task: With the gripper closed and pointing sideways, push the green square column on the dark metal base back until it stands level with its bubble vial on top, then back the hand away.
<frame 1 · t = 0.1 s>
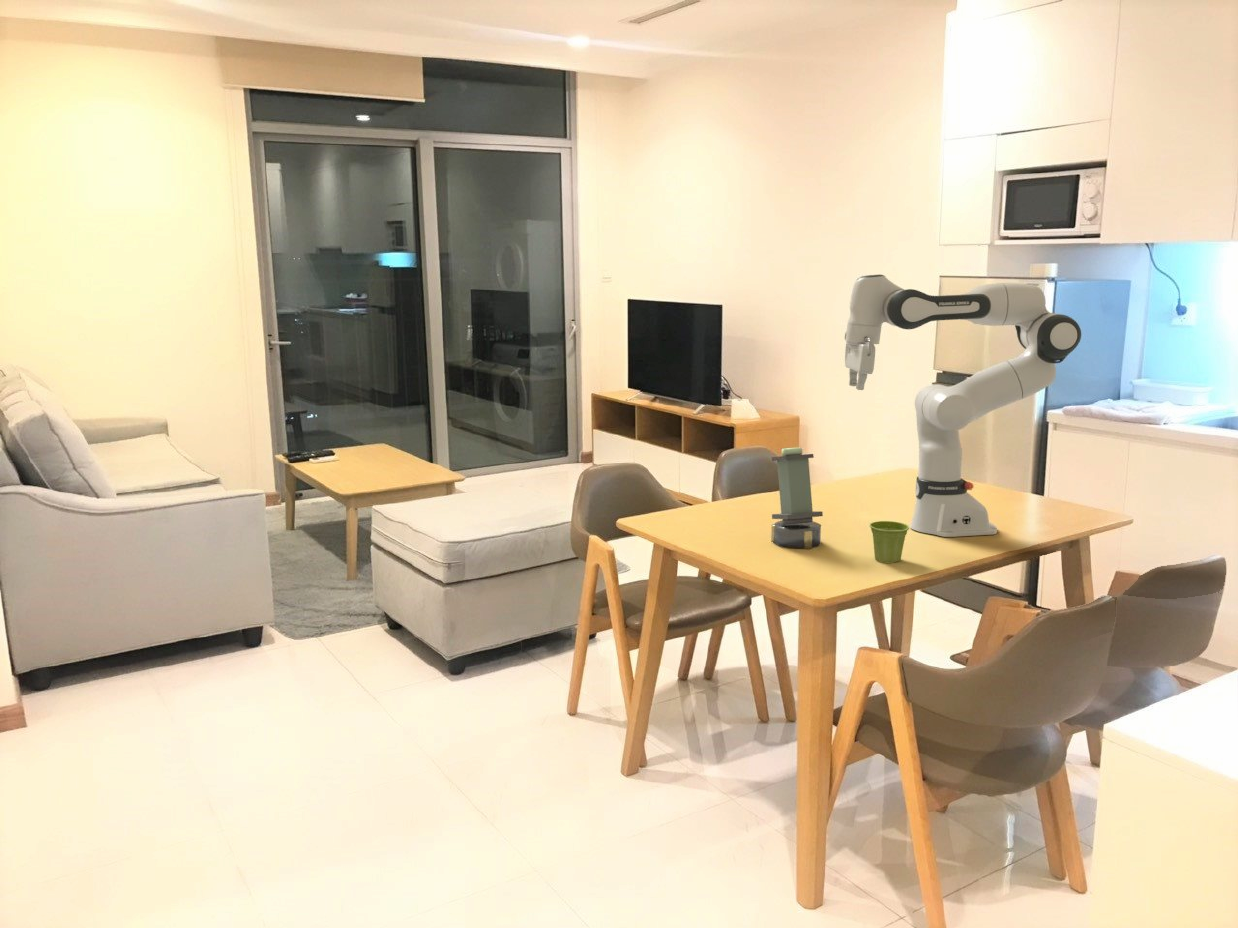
hand: (856, 387, 265), 39 cm above the table, tool pointing down, fingers open, 8 cm apart
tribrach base: (797, 542, 260), on the table
green square column: (794, 485, 259), point 15 cm above the table, hinge at 12.0°
plant pot: (888, 560, 243), on the table
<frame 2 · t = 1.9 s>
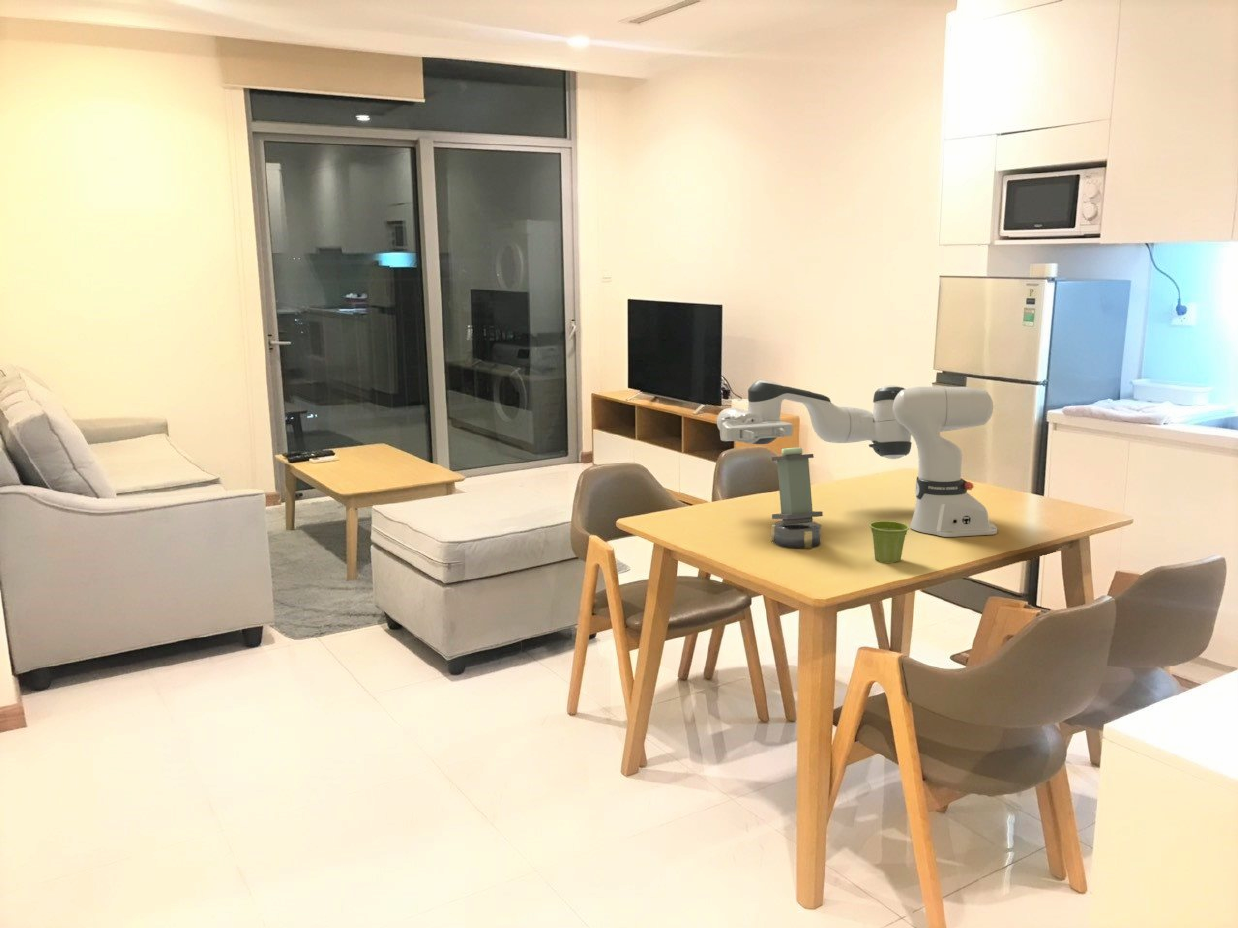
hand: (769, 434, 271), 26 cm above the table, tool horizontal, fingers open, 7 cm apart
nothing on the table moved.
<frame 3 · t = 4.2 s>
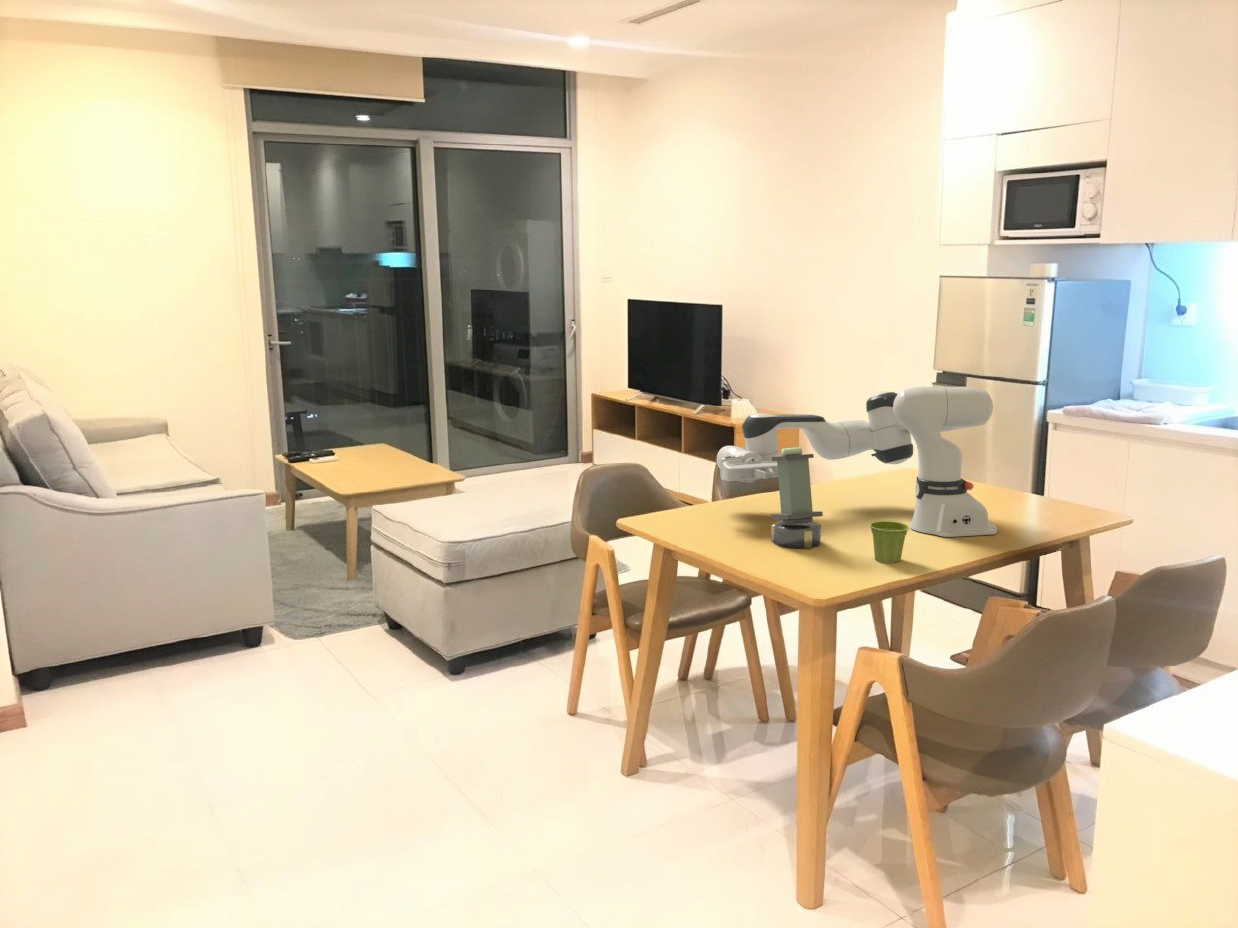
hand: (769, 475, 272), 15 cm above the table, tool horizontal, fingers closed
nothing on the table moved.
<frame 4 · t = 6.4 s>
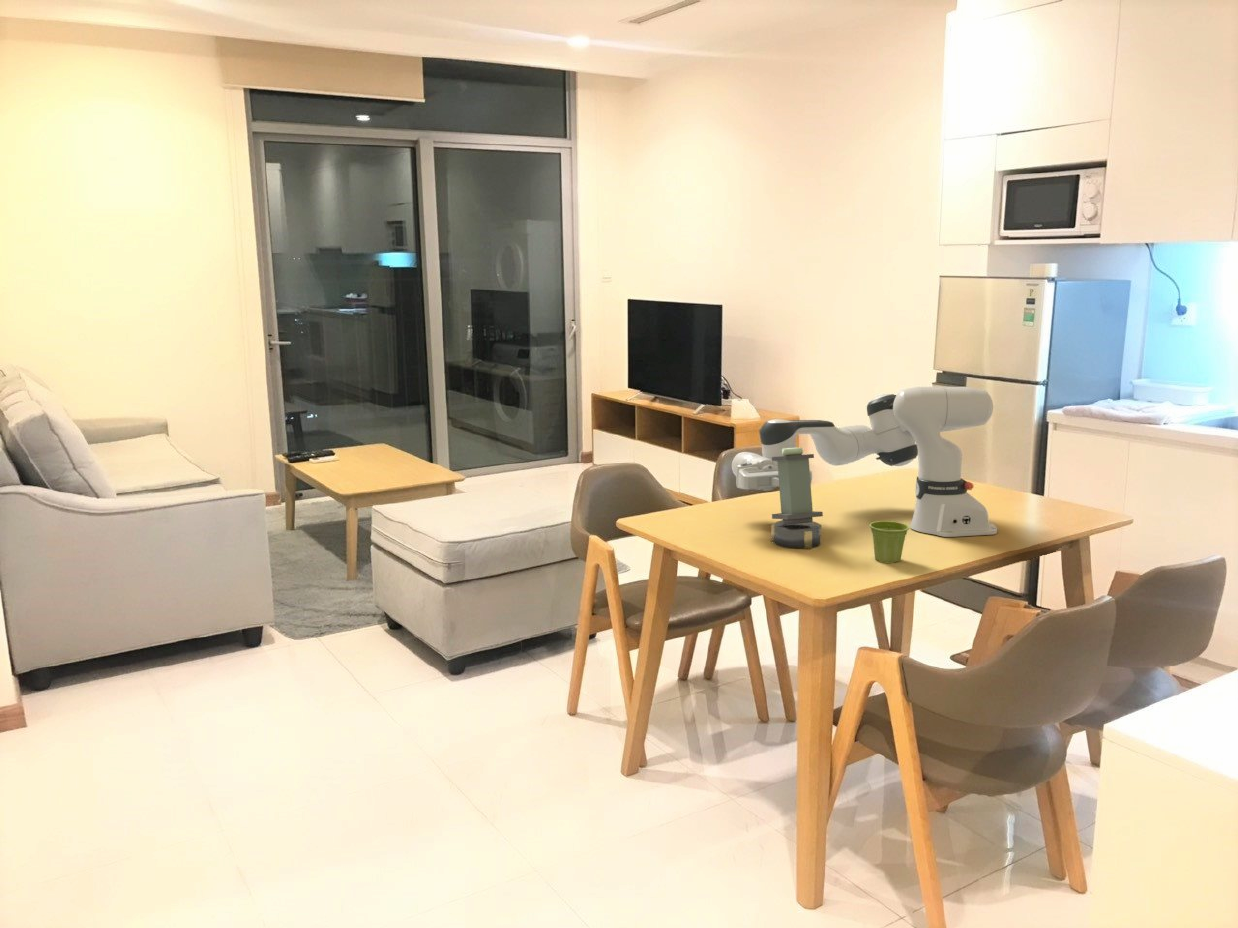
hand: (787, 483, 261), 15 cm above the table, tool horizontal, fingers closed, pressing on green square column
green square column: (794, 485, 258), point 15 cm above the table, hinge at 11.4°, touching gripper
everything else where it was.
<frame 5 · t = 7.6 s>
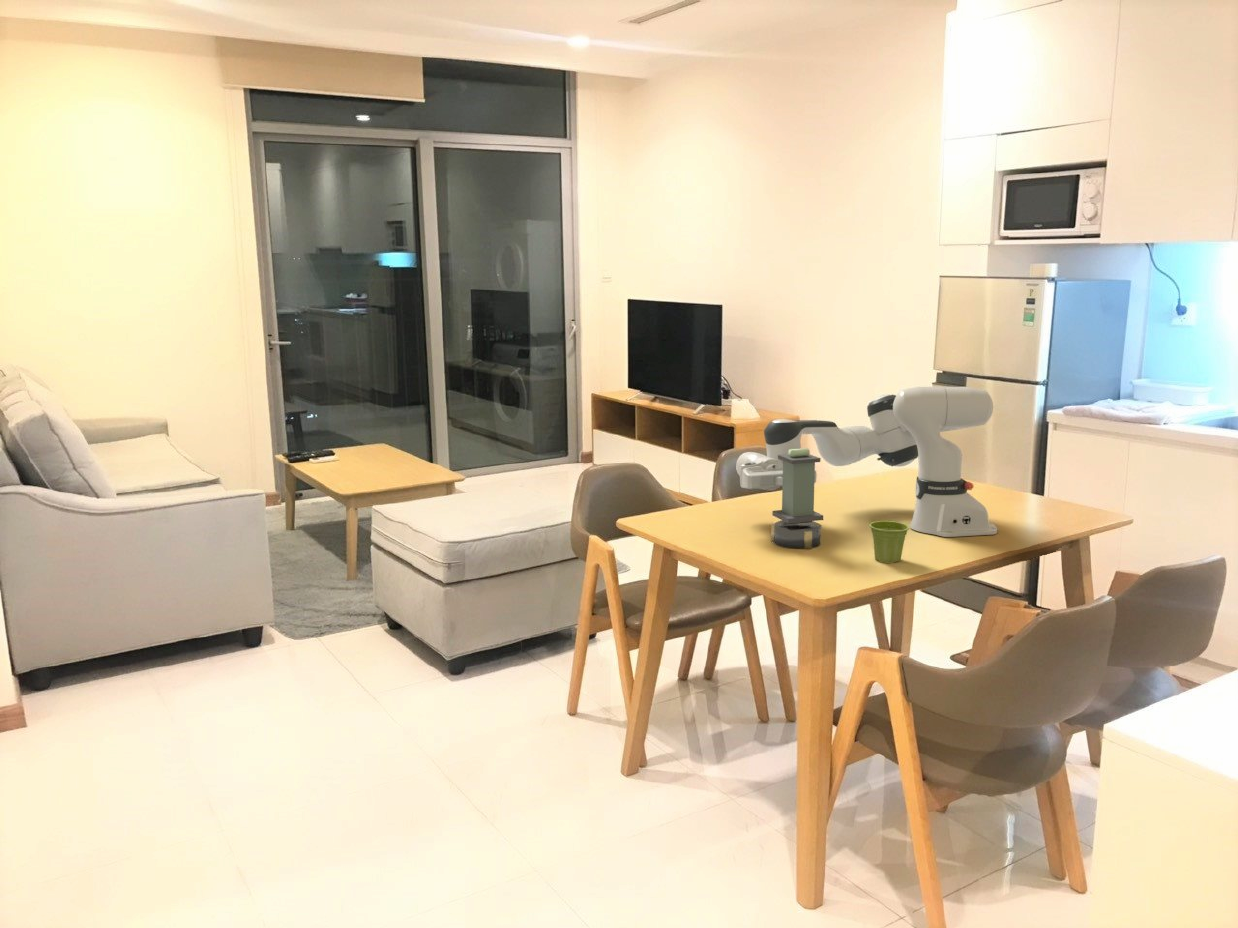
hand: (791, 482, 259), 15 cm above the table, tool horizontal, fingers closed, pressing on green square column
green square column: (798, 486, 257), point 15 cm above the table, hinge at -0.5°, touching gripper
everything else where it was.
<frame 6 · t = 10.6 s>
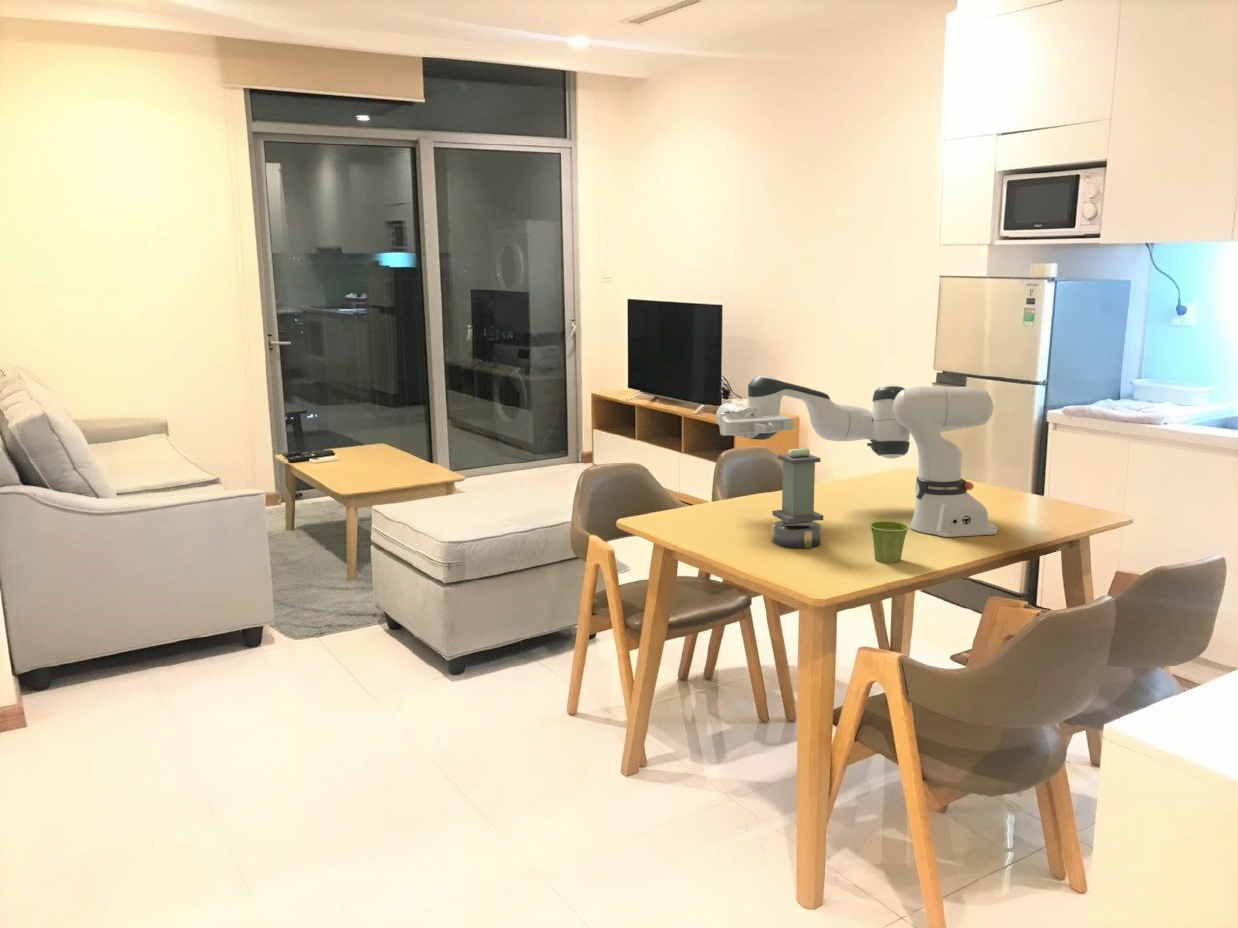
hand: (769, 428, 270), 28 cm above the table, tool horizontal, fingers closed
green square column: (798, 486, 257), point 15 cm above the table, hinge at -0.6°
everything else where it was.
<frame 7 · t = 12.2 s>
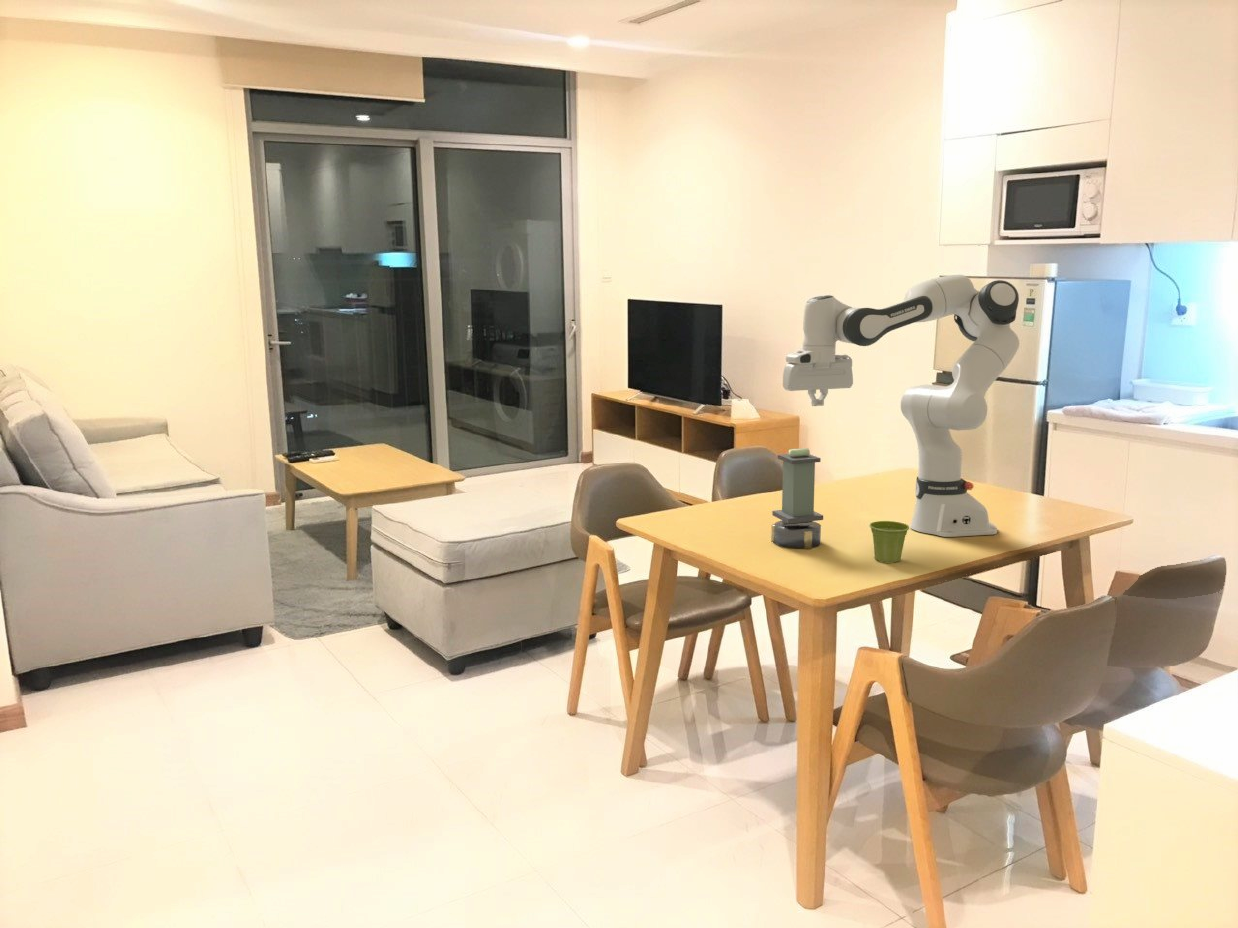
hand: (817, 405, 274), 33 cm above the table, tool pointing down, fingers closed
nothing on the table moved.
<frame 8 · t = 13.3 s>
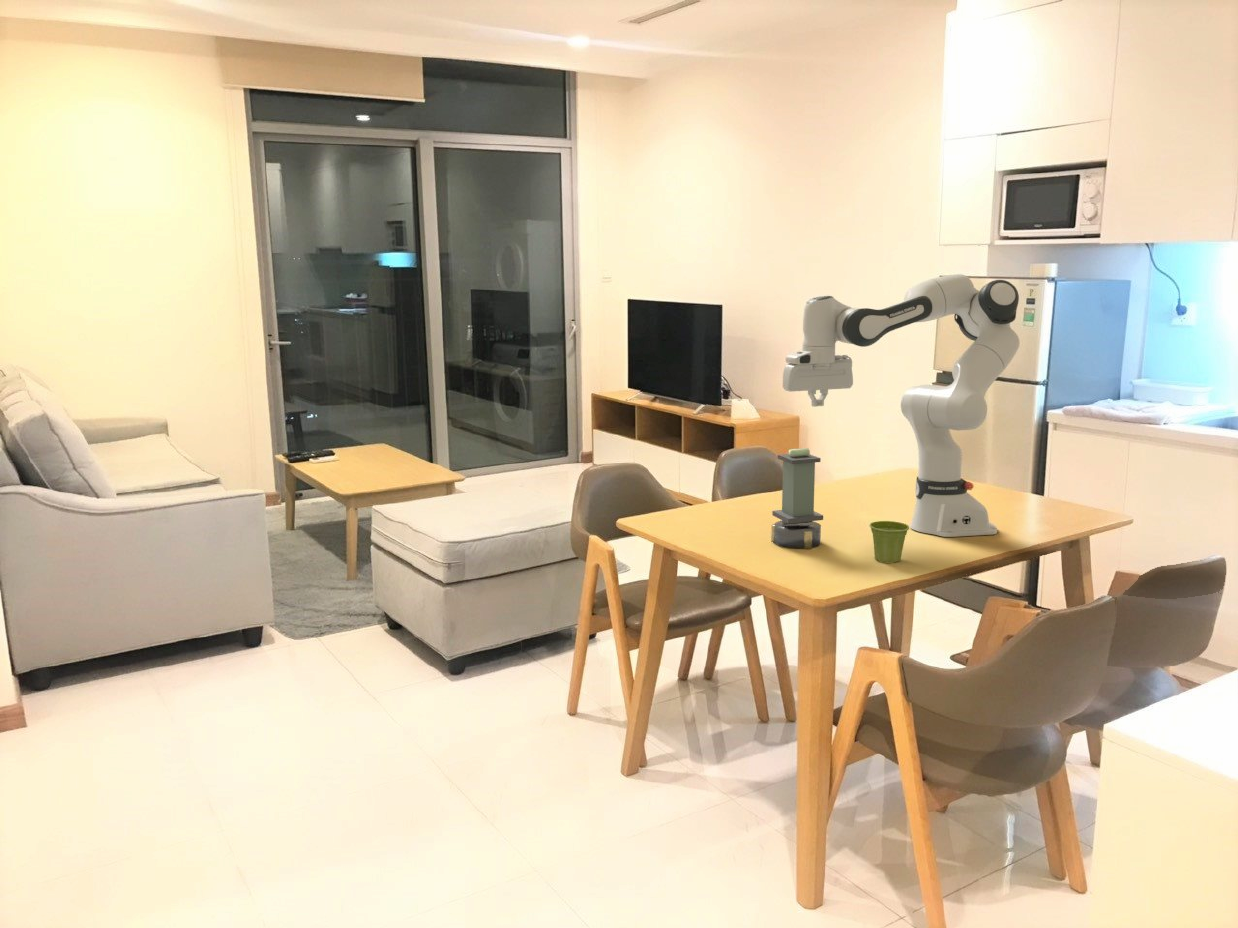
hand: (817, 406, 275), 33 cm above the table, tool pointing down, fingers closed
nothing on the table moved.
at the end: green square column at -1° (first picture: +12°); plant pot moved 0.2 cm from its start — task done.
